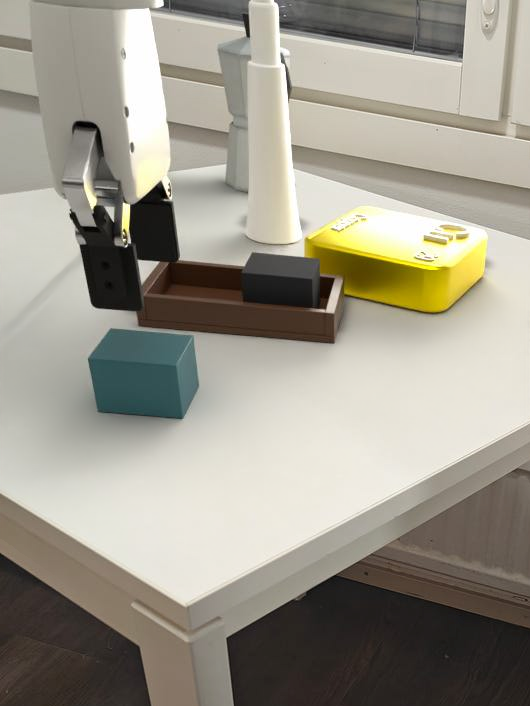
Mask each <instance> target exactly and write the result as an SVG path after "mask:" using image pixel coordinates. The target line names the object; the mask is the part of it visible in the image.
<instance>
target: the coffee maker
mask: <svg viewBox="0 0 530 706" xmlns="http://www.w3.org/2000/svg"><path fill="white" fill-rule="evenodd" d="M241 15H242V16H241V17H242V20H243V26H244V31H245V35H246V36H243V37H239V38H235V39H232V40H231V39H230V40H228V41H224V42H221V43H217V47H216V48H217V49H216V50H217V55H218V59H219V60H218V61H219V65H220V71H221V76H222V81H223V82H222V83H223V88H224V93H225V99H226V104H227V110H228V113H229V114H230V115H231V116H232V119H233V120H232V121H231V122H230V123H229V127H228V137H227V138H228V140H227V153H226V164H225V165H226V167H225V181H224V183H225V184H226V185H227V186H229V187H230V188H232V189H233V190H235V191H238V192H245V193H248V192H249V144H248V92H247V63H248V61H251V43H250V24H249V11H241ZM280 63H282V64H283V65H284V66H285V75H286V86H287V98H288V104H289V103H290V99H291V94H292V89H293V86H292V80H291V75H290V67H291V66H290V65H291V54H290V50H289V49H287V48H284V47H282V46H280ZM292 166H293V164H292ZM293 167H294V166H293ZM293 177H294V187H295V186H296V187H297V183H296V182H297V181H296V178H295V177H296V176H295V172H294V170H293ZM296 187H295V188H296Z"/></svg>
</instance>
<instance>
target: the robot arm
mask: <svg viewBox="0 0 530 706" xmlns="http://www.w3.org/2000/svg"><path fill="white" fill-rule="evenodd" d="M163 6H164V0H29V2H28V7H29V8H28V9H29V26H30V27H29V28H30V29H29V30H30V39H31V52H32V59H33V68H34V77H35V84H36V91H37V99H38V103H39V109H40V116H41V122H42V129H43V135H44V141H45V142H44V143H45V148H46V153H47V159H48V165H49V171H50V177H51V182H52V186H53V190H54V191H55V192H56V194H58V196H59V197H60V198H62V199H63V200H67V203H68V205H69V207H70V208H69V211H70V212H69V213H68V216H69V219H70V220H71V221H72V224H73V226H74V236H75V240H76V243H77V244H78V245H79V251H80V255H81V260H82V266H83V270H84V276H85V281H86V286H87V291H88V294H89V295H88V296H89V301H90V304H91V306H92V307H93V308H95V309H99V310H109V311H110V310H111V311H112V310H113V311H126V312H136V311H141V309H142V308H143V307H144V297H143V291H142V284H143V283H142V279H141V273H140V266H139V261H145V262H146V261H147V262H158V263H159V262H171V263H175V262H177V261H178V260H180V259H181V252H180V245H179V235H178V228H177V222H176V220H177V219H176V214H175V213H176V212H175V204H174V201H172V198H173V189H172V183H171V180H170V178H169V176H168V172H169V170H170V168H171V141H170V132H169V124H168V116H167V109H166V101H165V95H164V94H165V93H164V87H163V81H162V74H161V68H160V62H159V56H158V51H157V45H156V36H155V34H154V28H153V22H152V16H151V12H150V9H157V8H161V7H163ZM106 207H107V208H114V209H113V219H112V217H111V216H110V214H109V212H108V210H107V209H106ZM129 239H130V242H129Z"/></svg>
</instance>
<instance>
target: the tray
mask: <svg viewBox="0 0 530 706" xmlns="http://www.w3.org/2000/svg"><path fill="white" fill-rule="evenodd" d="M244 266H245V265H236V264H235V265H234V264H224V263H214V262H213V263H212V262H203V261H193V260H181V259H179V260H178V261H177V262H175V263H171V262H158V263H157V265H156V266H155V267H154V268H153V269H152V271H151V273H149V275H148V276H147V277H146V279H145V280H144V281H143V283H141V284H142V291H143V297H144V307H143V308H142V309H141V311H135V312H136V319H137V325H138V326H139V327H147V328H148V327H150V328H159V329H160V328H161V329H171V330H183V331H195V332H205V333H206V332H207V333H218V334H226V335H227V334H229V335H239V336H240V335H241V336H249V337H261V338H262V337H263V338H272V339H273V338H274V339H283V340H284V339H285V340H296V341H306V342H307V341H308V342H317V343H330V344H335V342H336V337H337V334H338V329H339V326H340V322H341V319H342V314H343V309H344V307H345V294H344V276H341V275H330V274H320V305H319V308H318V309H314V308H303V307H292V306H281V305H270V304H259V303H248V302H243V294H242V279H241V272H242V270H243V268H244Z"/></svg>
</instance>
